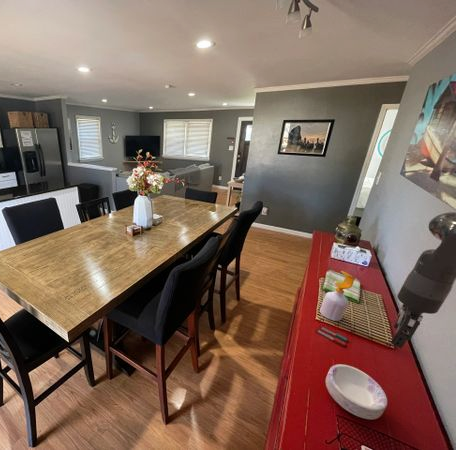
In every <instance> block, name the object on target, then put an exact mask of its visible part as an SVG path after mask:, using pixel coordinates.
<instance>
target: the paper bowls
mask: <svg viewBox="0 0 456 450" xmlns="http://www.w3.org/2000/svg"><path fill="white" fill-rule="evenodd" d="M325 387H326V389H327V391H328V393H329V395H330V396H331V397H332V399H333V400H334V401H335V402H336V403H337V404H338V405H339V406H340V407H341V408H342V409H344V410H345V411H347V412H348V413H350V414H352V415H354V416H356V417H358V418H361V419H365V420H376V419H379V418H381V416H382V415H383V414H384V412H385V410H386V408H387V406H388V397H387V395H386V393H385V391H384V390H383V388H382V386H381V385H380V384H379V383H378V382H377V381H376V380H374V378H372V377H371V376H370V375H368V374H367V373H365V372H364V371H362V370H360V369H359V368H357V367H354V366H351V365H347V364H341V363H339V364H334V365H332V366H331V367H330V368H329V370H328V372H327V375H326V377H325Z"/></svg>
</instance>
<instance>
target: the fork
mask: <svg viewBox="0 0 456 450" xmlns="http://www.w3.org/2000/svg"><path fill="white" fill-rule="evenodd" d="M320 330H321V331H323V332H325V333H327V334H330V335H331V336H334V337H336V338H338V339H339V340H341V341H343V342H345V343H347V341H348V338H347V337H345V336H344V335H341V334H339V333H338V332H336V333H334V332H333V331H331V330H330V329H327V328H325V327H323V326H322V327H321V329H320Z"/></svg>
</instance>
